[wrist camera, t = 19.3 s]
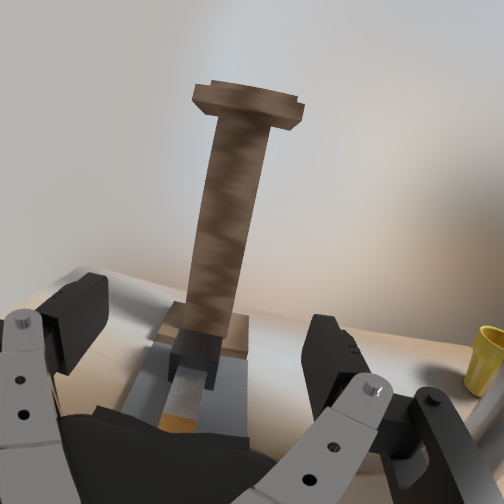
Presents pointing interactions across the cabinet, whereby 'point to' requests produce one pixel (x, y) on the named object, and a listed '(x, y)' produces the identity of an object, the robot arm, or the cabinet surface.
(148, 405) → the rubber mat
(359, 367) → the robot arm
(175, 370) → the grey block hammer
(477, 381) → the plant pot
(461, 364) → the cabinet surface
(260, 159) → the walnut stand
